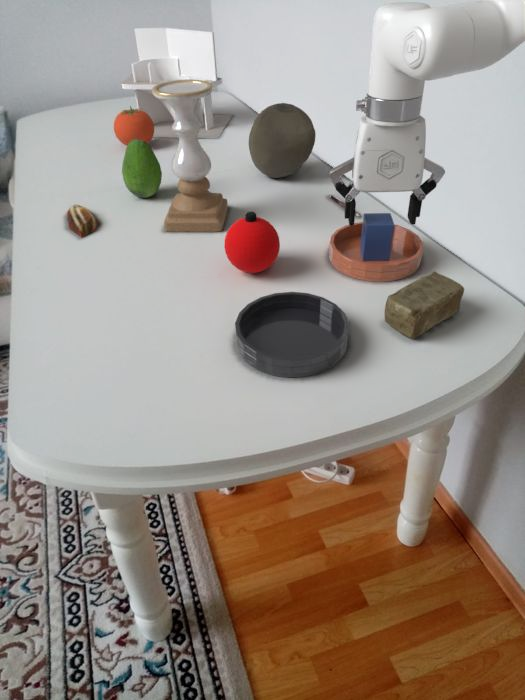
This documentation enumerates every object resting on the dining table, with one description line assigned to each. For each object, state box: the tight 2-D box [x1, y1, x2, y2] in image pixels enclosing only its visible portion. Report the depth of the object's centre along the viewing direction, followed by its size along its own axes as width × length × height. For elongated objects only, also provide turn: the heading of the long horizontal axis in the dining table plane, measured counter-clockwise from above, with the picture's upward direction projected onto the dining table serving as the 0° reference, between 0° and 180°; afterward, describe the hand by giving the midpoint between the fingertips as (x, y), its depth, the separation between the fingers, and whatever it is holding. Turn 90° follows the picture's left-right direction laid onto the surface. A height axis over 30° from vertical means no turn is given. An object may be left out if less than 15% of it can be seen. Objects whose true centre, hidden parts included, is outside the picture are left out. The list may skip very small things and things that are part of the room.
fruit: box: [121, 139, 163, 199], centre depth 108 cm, size 8×8×12 cm
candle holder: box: [152, 80, 229, 233], centre depth 94 cm, size 11×11×24 cm
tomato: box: [113, 105, 154, 147], centre depth 133 cm, size 10×10×10 cm
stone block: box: [384, 271, 465, 340], centre depth 73 cm, size 6×12×5 cm, turn 129°
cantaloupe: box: [248, 102, 317, 179], centre depth 113 cm, size 14×14×15 cm
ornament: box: [224, 211, 281, 274], centre depth 84 cm, size 9×9×10 cm
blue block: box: [360, 212, 395, 261], centre depth 86 cm, size 4×4×6 cm
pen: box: [329, 193, 361, 217], centre depth 104 cm, size 11×1×1 cm, turn 25°
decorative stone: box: [66, 203, 99, 239], centre depth 102 cm, size 14×6×2 cm, turn 32°
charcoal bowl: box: [234, 291, 350, 378], centre depth 71 cm, size 15×15×3 cm
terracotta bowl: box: [328, 221, 424, 283], centre depth 88 cm, size 15×15×3 cm
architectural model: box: [121, 27, 233, 139], centre depth 142 cm, size 28×21×23 cm
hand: (380, 221), depth 84 cm, fingers open, 9 cm apart
